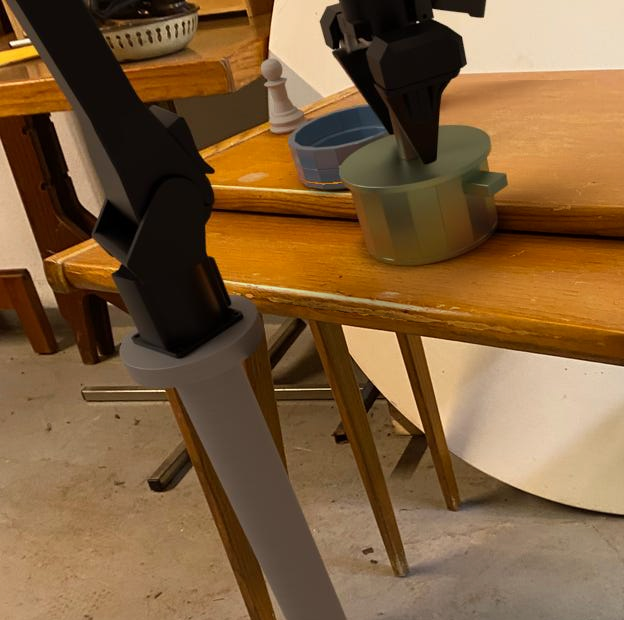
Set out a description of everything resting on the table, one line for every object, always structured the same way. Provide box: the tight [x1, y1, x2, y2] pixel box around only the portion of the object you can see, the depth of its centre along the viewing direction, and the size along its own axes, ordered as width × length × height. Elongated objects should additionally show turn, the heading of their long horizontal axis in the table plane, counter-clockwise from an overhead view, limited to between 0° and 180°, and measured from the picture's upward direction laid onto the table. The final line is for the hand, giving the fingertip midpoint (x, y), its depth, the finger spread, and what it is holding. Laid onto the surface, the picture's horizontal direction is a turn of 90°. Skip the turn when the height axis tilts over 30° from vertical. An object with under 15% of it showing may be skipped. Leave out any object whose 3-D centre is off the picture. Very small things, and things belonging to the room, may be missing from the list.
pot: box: [339, 157, 509, 267], centre depth 78 cm, size 12×17×6 cm
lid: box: [339, 109, 492, 194], centre depth 74 cm, size 13×13×5 cm
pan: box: [287, 103, 390, 191], centre depth 94 cm, size 12×12×4 cm
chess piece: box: [260, 58, 309, 135], centre depth 109 cm, size 5×5×8 cm
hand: (411, 147), depth 75 cm, fingers open, 9 cm apart
